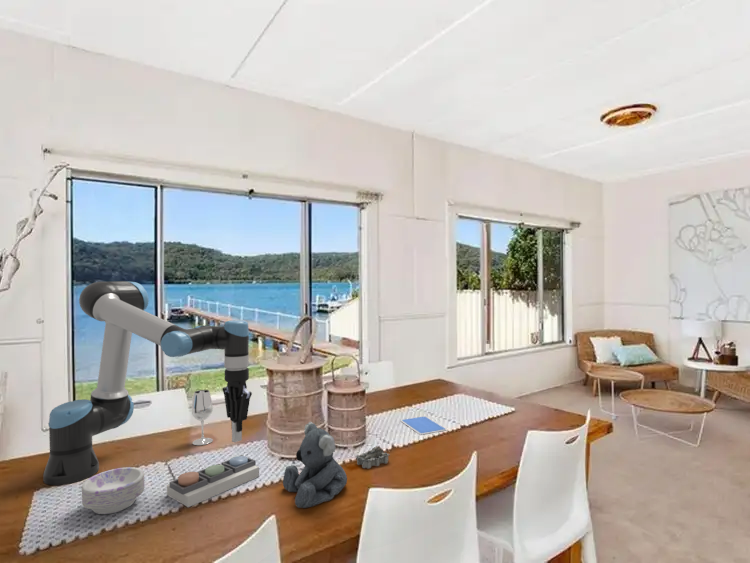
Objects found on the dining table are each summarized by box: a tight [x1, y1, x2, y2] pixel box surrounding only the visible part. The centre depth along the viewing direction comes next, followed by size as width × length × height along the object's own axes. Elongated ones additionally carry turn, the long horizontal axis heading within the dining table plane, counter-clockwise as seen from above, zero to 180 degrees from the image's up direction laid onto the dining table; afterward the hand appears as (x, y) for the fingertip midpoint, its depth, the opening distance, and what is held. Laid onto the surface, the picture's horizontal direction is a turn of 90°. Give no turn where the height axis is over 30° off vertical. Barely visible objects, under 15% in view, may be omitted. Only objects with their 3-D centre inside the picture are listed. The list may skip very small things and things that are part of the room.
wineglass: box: [190, 389, 214, 446], centre depth 173 cm, size 8×8×20 cm
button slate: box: [228, 455, 249, 467], centre depth 142 cm, size 6×6×2 cm
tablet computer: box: [400, 416, 447, 436], centre depth 187 cm, size 19×13×1 cm, turn 22°
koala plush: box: [282, 421, 348, 509], centre depth 130 cm, size 17×18×20 cm
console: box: [166, 454, 260, 508], centre depth 135 cm, size 25×12×4 cm, turn 142°
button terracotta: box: [177, 471, 199, 486], centre depth 128 cm, size 6×6×2 cm
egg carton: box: [355, 445, 390, 469], centre depth 150 cm, size 11×8×4 cm
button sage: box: [204, 464, 224, 477], centre depth 135 cm, size 6×6×2 cm
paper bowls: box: [81, 466, 146, 515], centre depth 124 cm, size 15×15×8 cm
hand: (236, 440), depth 142 cm, fingers closed
